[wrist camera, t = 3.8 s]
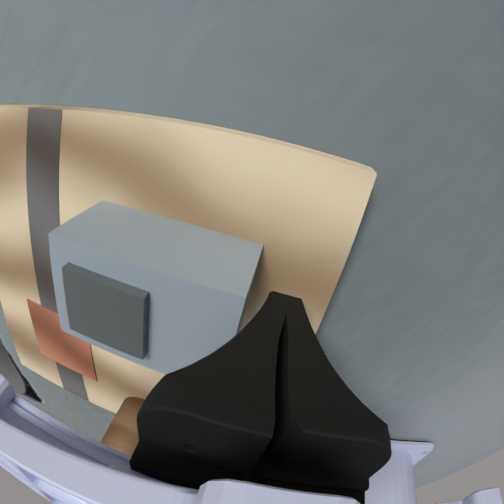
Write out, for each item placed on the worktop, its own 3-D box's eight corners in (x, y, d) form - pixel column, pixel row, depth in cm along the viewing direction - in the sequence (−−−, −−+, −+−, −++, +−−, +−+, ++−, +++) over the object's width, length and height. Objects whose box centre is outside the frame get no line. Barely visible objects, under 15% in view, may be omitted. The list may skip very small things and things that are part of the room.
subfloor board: (255, 445, 21) (252, 459, 20) (29, 355, 22) (20, 364, 21) (371, 166, 11) (377, 174, 10) (-6, 104, 12) (-22, 107, 11)
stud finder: (239, 332, 14) (217, 399, 11) (102, 286, 15) (56, 335, 11) (263, 244, 12) (243, 306, 9) (102, 200, 13) (41, 238, 9)
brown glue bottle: (166, 430, 20) (133, 509, 14) (125, 415, 20) (86, 488, 14) (167, 407, 18) (128, 496, 12) (121, 390, 18) (75, 471, 12)
